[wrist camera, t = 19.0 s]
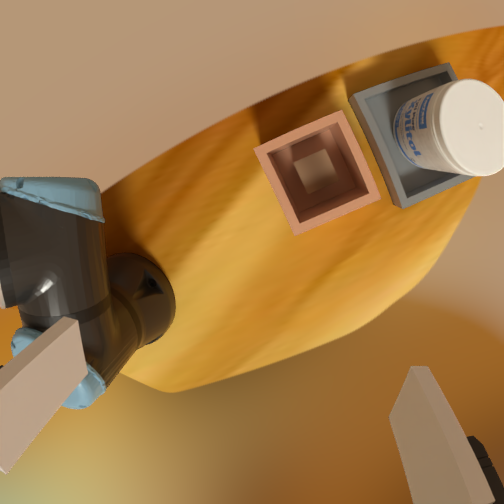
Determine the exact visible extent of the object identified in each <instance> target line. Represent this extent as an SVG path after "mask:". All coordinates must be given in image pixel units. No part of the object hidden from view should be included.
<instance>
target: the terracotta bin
mask: <svg viewBox="0 0 504 504" xmlns="http://www.w3.org/2000/svg"><path fill="white" fill-rule="evenodd" d="M323 149H325V150H326V152H327V154H328V156H329V158H330V160H331V163H332V165H333V167H334V169H335V171H336V174H337V176H338V178H339V180H340V181H338V182H335V183H333V184H331V185H329V186H326V187H324V188H322V189H319V190H317V191H315V192H313V193H310V194H308V193H307V191H306V189H305V187H304V185H303V182H302V180H301V178H300V176H299V174H298V172H297V170H296V168H295V165H294V162H296V161H298V160H300V159H303V158H305V157H307V156H309V155H312V154H314V153H316V152H318V151H321V150H323ZM254 151H255V153H256V155H257V157H258V159H259V161H260V163H261V166H262V168H263V170H264V172H265V174H266V176H267V178H268V180H269V182H270V184H271V186H272V188H273V190H274V193H275V195H276V197H277V199H278V201H279V203H280V205H281V207H282V210H283V212H284V214H285V216H286V218H287V220H288V222H289V225H290V227H291V229H292V231H293V233H294V236H296V235H299V234H301V233H303V232H305V231H308V230H310V229H312V228H315V227H317V226H319V225H322V224H324V223H326V222H329V221H331V220H333V219H336V218H338V217H340V216H342V215H345V214H347V213H349V212H352V211H354V210H356V209H359V208H361V207H363V206H366V205H368V204H370V203H372V202H375V201H377V200H379V199H381V197H380V194H379V191H378V189H377V186H376V184H375V182H374V179H373V177H372V174H371V172H370V169H369V167H368V165H367V162H366V160H365V158H364V156H363V153H362V151H361V149H360V147H359V144H358V142H357V140H356V138H355V136H354V134H353V131H352V129H351V127H350V125H349V123H348V121H347V119H346V117H345V115H344V113H343V111H342V110H340V111H337V112H335V113H332V114H330V115H327V116H325V117H323V118H320V119H318V120H316V121H313V122H311V123H309V124H306V125H304V126H302V127H299V128H297V129H295V130H293V131H290V132H288V133H286V134H284V135H281V136H279V137H277V138H275V139H273V140H271V141H268V142H266V143H264V144H262V145H260V146H258V147H256V148H254Z"/></svg>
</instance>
